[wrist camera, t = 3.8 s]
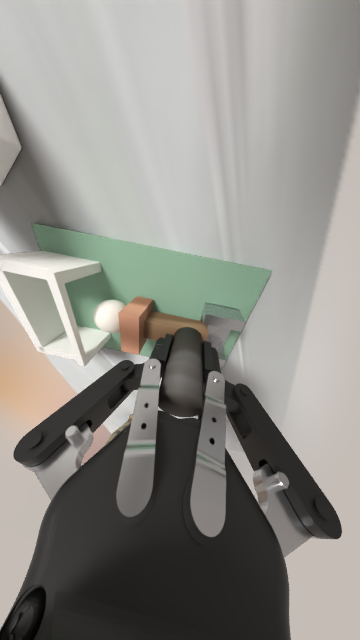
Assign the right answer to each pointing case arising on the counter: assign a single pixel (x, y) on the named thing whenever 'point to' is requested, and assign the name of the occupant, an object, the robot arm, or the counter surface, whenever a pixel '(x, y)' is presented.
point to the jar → (7, 142)
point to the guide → (221, 325)
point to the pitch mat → (151, 280)
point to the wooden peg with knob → (184, 357)
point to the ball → (108, 315)
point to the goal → (50, 302)
